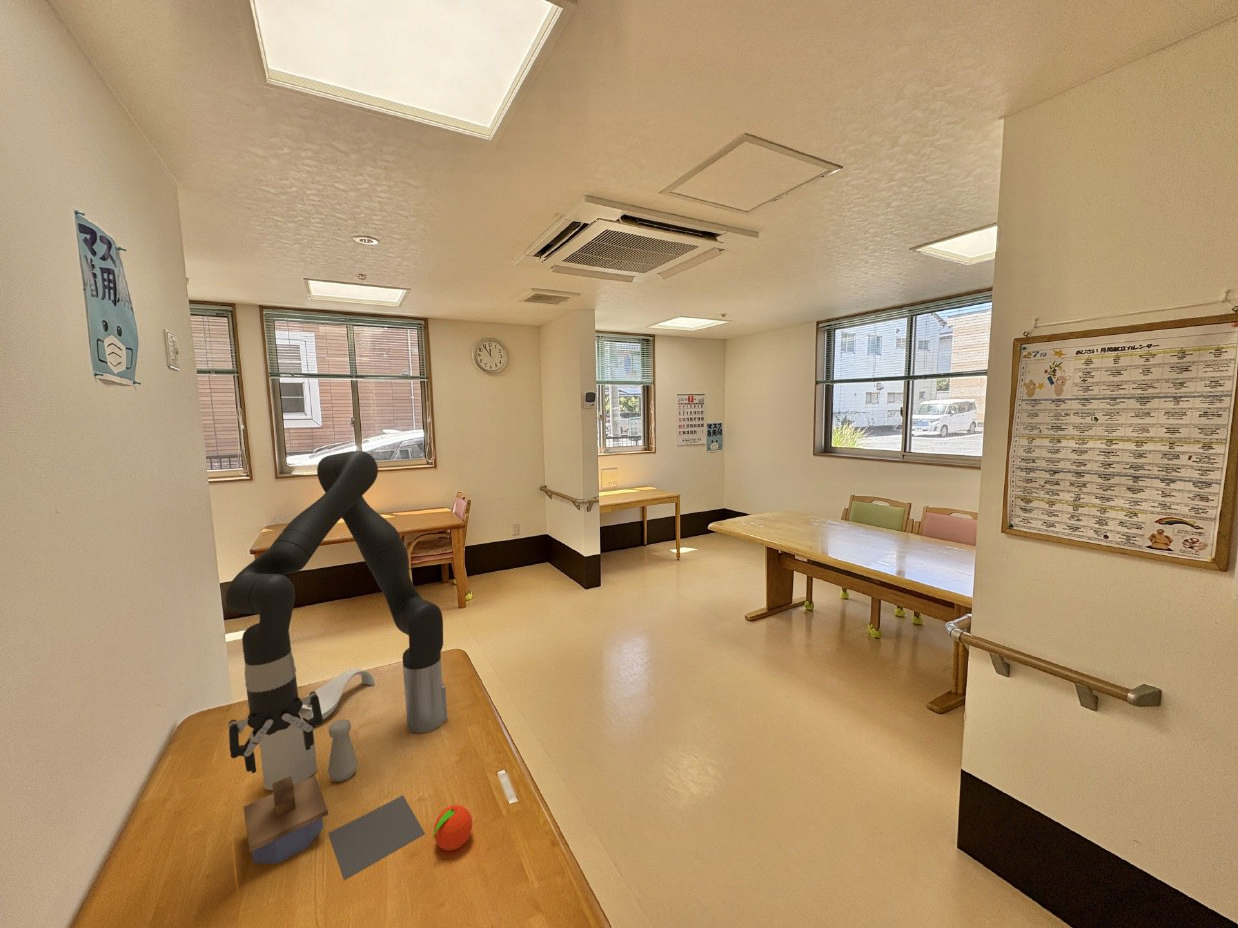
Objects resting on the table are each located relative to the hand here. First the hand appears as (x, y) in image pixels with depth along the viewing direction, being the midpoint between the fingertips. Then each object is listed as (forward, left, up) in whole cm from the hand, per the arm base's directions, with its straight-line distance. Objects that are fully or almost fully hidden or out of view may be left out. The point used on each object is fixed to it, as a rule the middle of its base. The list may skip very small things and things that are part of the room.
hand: (281, 758), depth 93 cm
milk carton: (-3, -18, -17) cm, 25 cm away
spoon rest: (-16, -44, -17) cm, 50 cm away
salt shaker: (-12, -11, -17) cm, 24 cm away
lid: (0, 0, -11) cm, 11 cm away
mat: (-13, +11, -17) cm, 24 cm away
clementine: (-23, +23, -17) cm, 36 cm away
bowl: (0, 0, -17) cm, 17 cm away
